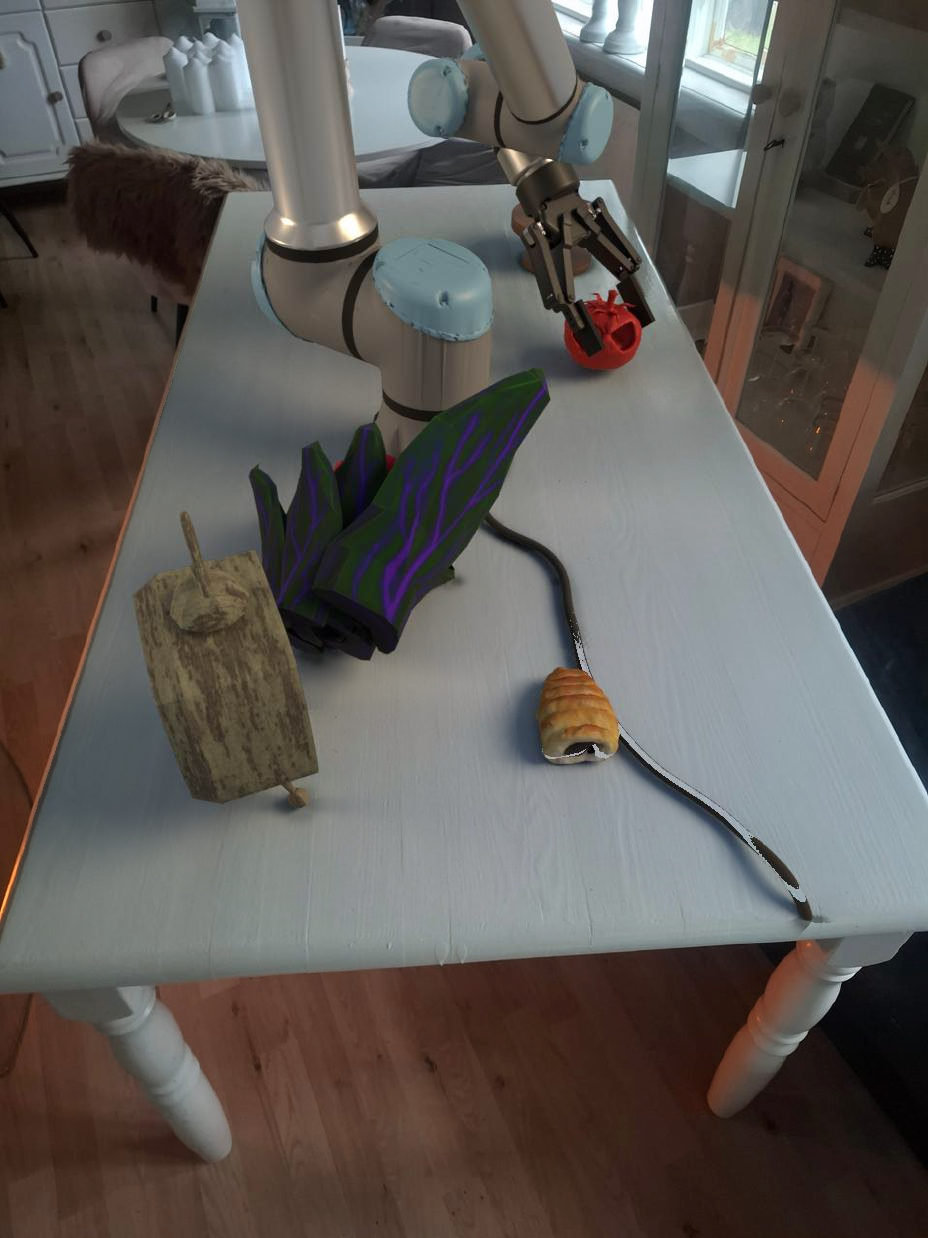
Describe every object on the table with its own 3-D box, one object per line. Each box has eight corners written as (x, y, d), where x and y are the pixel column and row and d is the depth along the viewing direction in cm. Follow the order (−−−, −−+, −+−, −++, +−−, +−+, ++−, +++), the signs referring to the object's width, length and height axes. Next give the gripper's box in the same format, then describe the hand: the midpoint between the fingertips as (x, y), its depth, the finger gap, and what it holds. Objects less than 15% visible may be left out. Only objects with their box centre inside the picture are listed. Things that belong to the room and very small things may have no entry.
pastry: (526, 681, 77) (530, 653, 74) (601, 677, 77) (607, 649, 75) (542, 770, 71) (546, 742, 68) (623, 765, 71) (630, 737, 68)
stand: (614, 280, 133) (621, 232, 127) (518, 285, 131) (521, 236, 126) (591, 239, 143) (596, 193, 138) (501, 244, 141) (504, 197, 136)
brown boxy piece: (328, 816, 67) (283, 586, 49) (212, 856, 65) (120, 629, 47) (283, 683, 77) (231, 448, 58) (179, 713, 74) (92, 478, 56)
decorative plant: (287, 695, 87) (393, 469, 101) (507, 718, 73) (596, 451, 86) (141, 577, 73) (287, 331, 86) (379, 576, 58) (510, 281, 72)
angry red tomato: (562, 337, 118) (569, 270, 111) (636, 343, 117) (648, 275, 110) (559, 374, 111) (567, 304, 104) (637, 380, 110) (650, 311, 103)
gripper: (578, 169, 115) (654, 323, 118) (460, 211, 103) (547, 380, 107) (616, 134, 108) (694, 298, 112) (494, 176, 97) (585, 357, 101)
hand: (622, 338), depth 109 cm, fingers closed on angry red tomato, 9 cm apart
